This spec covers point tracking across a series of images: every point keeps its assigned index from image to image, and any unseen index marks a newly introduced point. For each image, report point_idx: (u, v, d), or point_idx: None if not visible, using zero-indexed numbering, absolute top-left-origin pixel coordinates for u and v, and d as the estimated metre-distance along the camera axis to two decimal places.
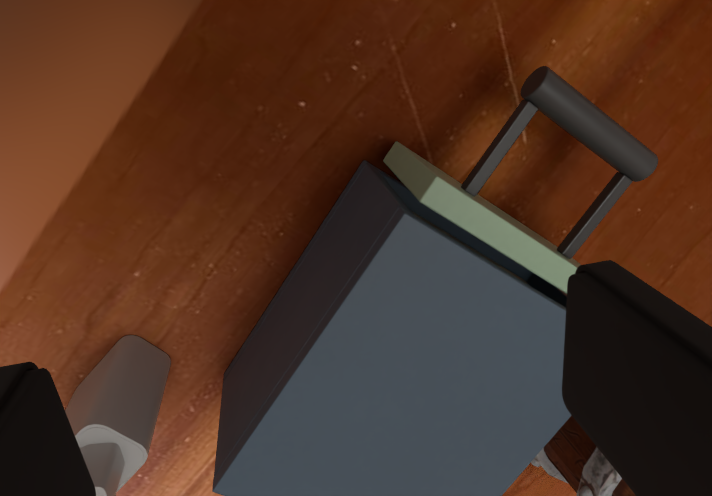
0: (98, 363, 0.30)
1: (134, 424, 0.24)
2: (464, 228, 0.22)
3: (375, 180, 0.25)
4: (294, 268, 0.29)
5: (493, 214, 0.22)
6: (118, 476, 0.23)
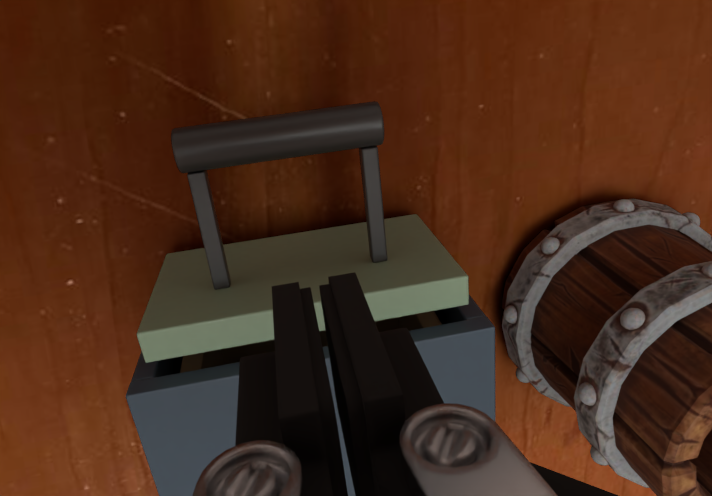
0: None
1: None
2: (212, 350, 0.19)
3: None
4: None
5: (226, 319, 0.18)
6: None
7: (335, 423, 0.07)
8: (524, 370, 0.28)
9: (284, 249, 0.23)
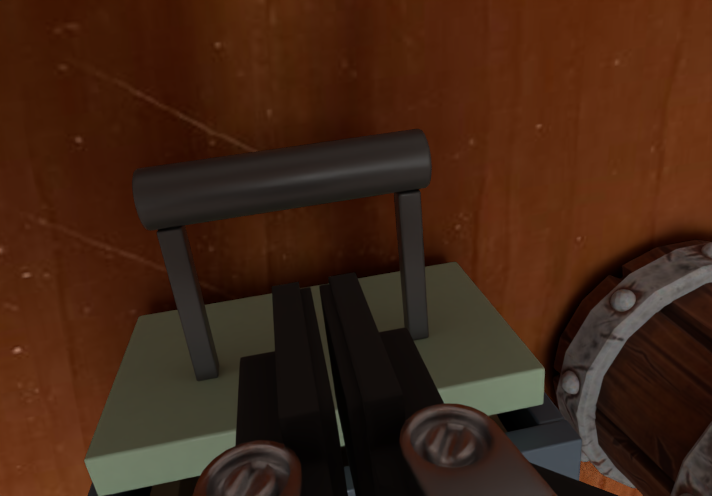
0: None
1: None
2: (192, 476, 0.13)
3: None
4: None
5: (211, 436, 0.13)
6: None
7: (335, 423, 0.07)
8: (585, 449, 0.22)
9: None
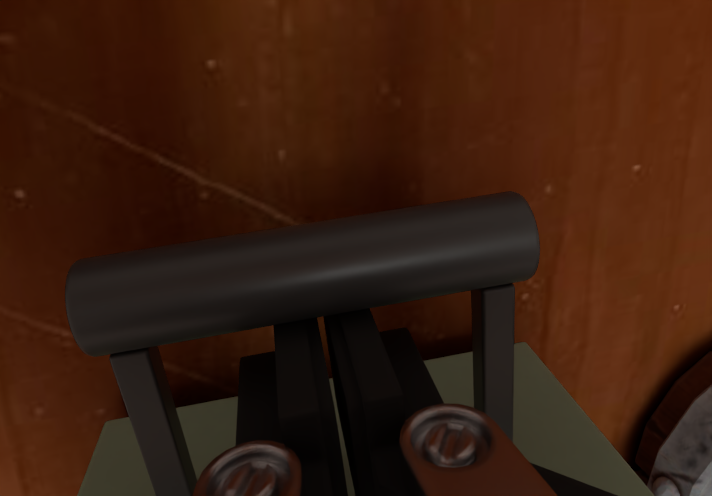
0: None
1: None
2: None
3: None
4: None
5: None
6: None
7: (335, 423, 0.07)
8: None
9: None
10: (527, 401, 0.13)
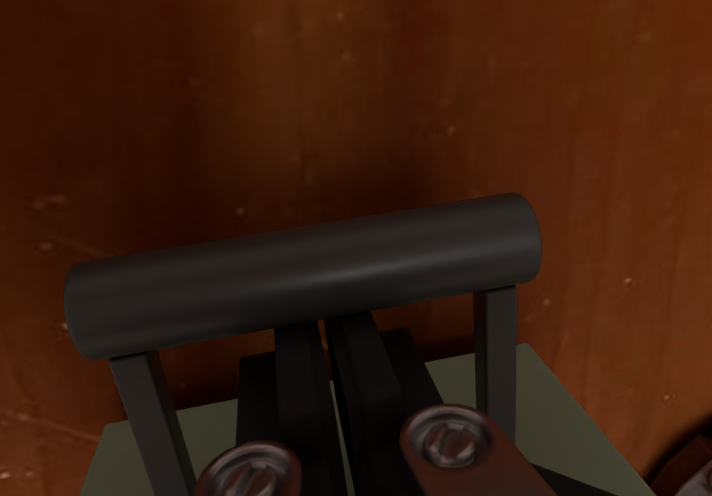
0: None
1: None
2: None
3: None
4: None
5: None
6: None
7: (335, 423, 0.07)
8: None
9: None
10: (529, 403, 0.13)
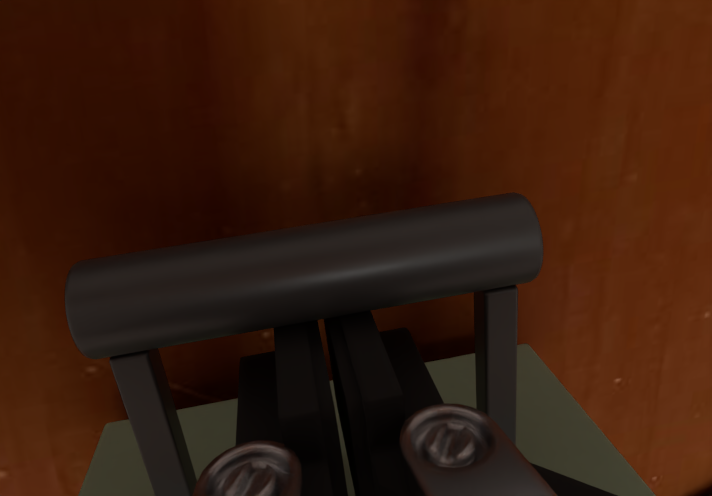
0: None
1: None
2: None
3: None
4: None
5: None
6: None
7: (335, 423, 0.07)
8: None
9: None
10: (529, 403, 0.13)
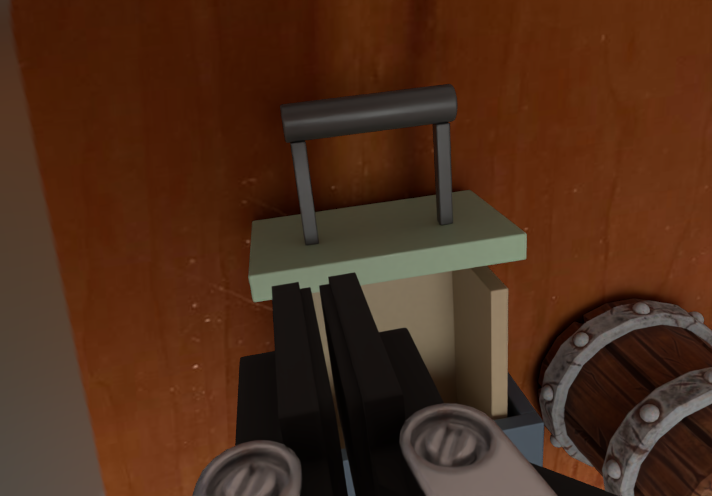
0: None
1: None
2: None
3: None
4: None
5: (323, 265, 0.22)
6: None
7: (335, 423, 0.07)
8: (558, 438, 0.33)
9: (358, 216, 0.26)
10: (465, 205, 0.26)
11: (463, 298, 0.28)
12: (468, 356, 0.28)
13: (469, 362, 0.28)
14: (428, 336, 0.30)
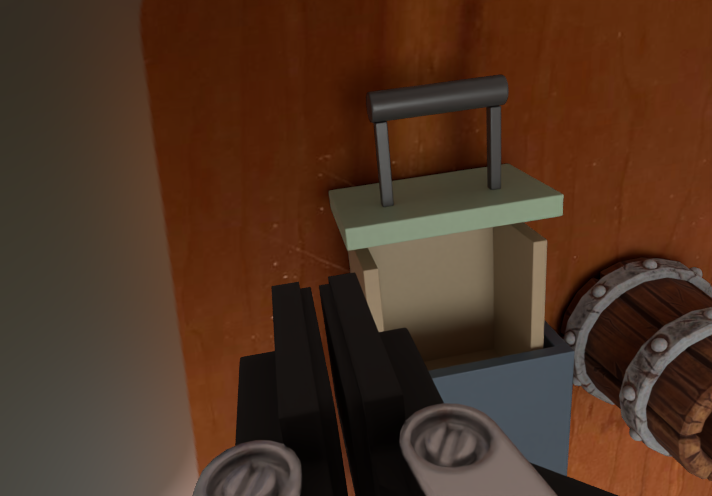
0: None
1: None
2: (391, 243, 0.27)
3: None
4: None
5: (403, 220, 0.27)
6: None
7: (335, 423, 0.07)
8: (578, 377, 0.39)
9: (419, 185, 0.32)
10: (507, 175, 0.32)
11: (504, 253, 0.33)
12: (508, 302, 0.34)
13: (508, 307, 0.34)
14: (471, 288, 0.36)
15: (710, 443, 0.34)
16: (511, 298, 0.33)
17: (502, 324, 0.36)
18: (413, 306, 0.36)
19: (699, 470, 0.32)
